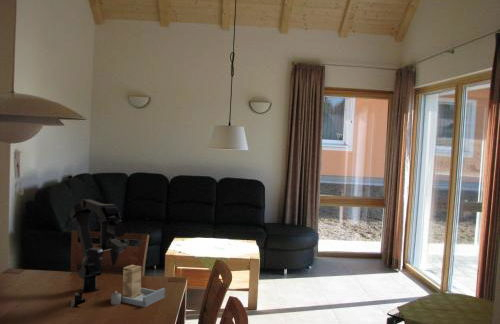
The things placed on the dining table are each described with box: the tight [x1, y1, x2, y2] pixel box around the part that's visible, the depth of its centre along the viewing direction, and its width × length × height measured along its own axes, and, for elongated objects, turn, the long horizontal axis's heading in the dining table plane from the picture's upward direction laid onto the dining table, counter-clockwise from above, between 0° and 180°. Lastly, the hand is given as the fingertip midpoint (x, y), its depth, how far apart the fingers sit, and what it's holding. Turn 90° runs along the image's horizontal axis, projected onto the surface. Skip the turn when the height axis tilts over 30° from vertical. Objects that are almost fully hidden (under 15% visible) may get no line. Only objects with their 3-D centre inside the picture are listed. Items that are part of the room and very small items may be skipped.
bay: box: [110, 287, 166, 308], centre depth 194 cm, size 16×18×6 cm
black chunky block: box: [70, 291, 86, 309], centre depth 191 cm, size 12×7×5 cm, turn 20°
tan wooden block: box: [121, 264, 143, 299], centre depth 198 cm, size 5×6×13 cm
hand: (106, 268), depth 199 cm, fingers open, 9 cm apart
